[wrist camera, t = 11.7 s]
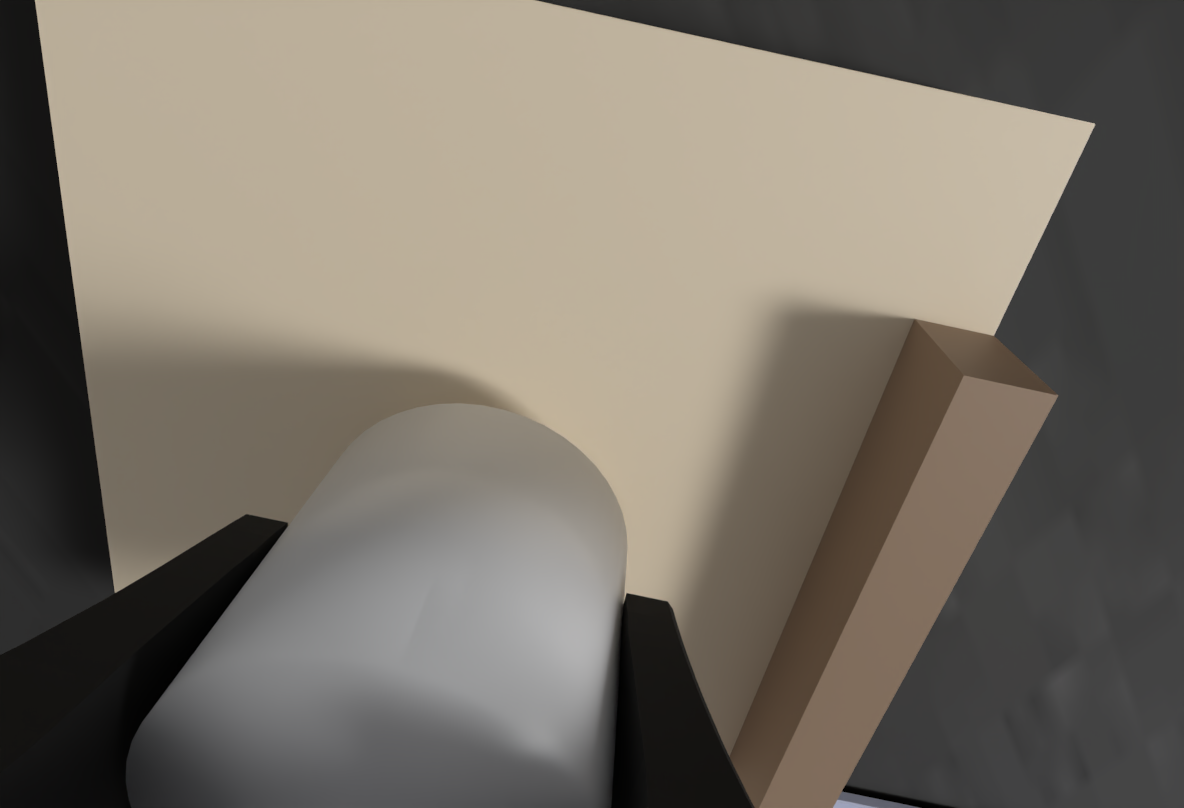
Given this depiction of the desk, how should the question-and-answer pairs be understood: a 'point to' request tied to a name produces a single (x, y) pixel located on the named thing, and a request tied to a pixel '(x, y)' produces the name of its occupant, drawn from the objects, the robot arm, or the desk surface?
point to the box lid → (568, 305)
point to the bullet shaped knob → (413, 636)
